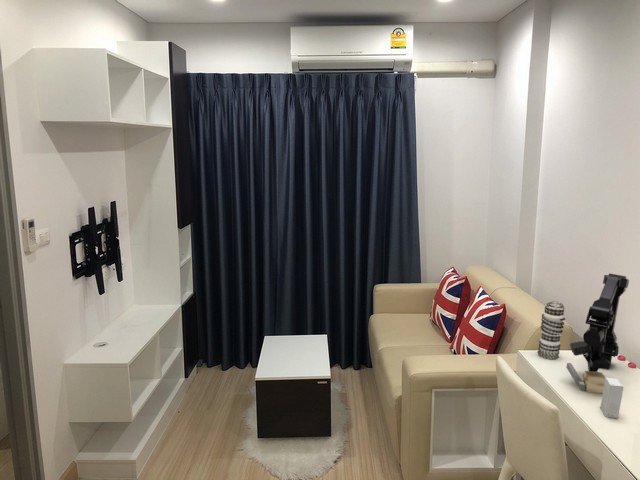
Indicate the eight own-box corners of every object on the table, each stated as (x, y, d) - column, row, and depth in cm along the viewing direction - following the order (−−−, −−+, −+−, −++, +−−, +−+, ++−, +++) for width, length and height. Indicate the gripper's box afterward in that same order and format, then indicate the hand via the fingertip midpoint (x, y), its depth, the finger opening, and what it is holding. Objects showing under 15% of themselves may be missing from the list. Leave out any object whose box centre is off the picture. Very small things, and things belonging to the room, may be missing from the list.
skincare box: (618, 418, 181) (624, 386, 179) (605, 417, 182) (610, 385, 180) (612, 409, 187) (618, 378, 185) (599, 408, 188) (604, 377, 186)
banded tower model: (551, 352, 233) (559, 299, 228) (563, 362, 224) (571, 306, 219) (532, 353, 232) (539, 299, 226) (543, 362, 223) (551, 306, 217)
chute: (563, 369, 218) (564, 361, 217) (594, 372, 216) (596, 365, 215) (577, 392, 199) (578, 384, 198) (611, 396, 196) (613, 388, 196)
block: (582, 385, 202) (584, 370, 201) (599, 386, 201) (601, 372, 200) (586, 391, 197) (588, 376, 196) (603, 393, 196) (606, 378, 195)
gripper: (567, 326, 209) (562, 362, 213) (581, 345, 192) (575, 384, 195) (597, 329, 207) (592, 365, 211) (614, 348, 190) (607, 388, 193)
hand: (590, 375), depth 202 cm, fingers closed
